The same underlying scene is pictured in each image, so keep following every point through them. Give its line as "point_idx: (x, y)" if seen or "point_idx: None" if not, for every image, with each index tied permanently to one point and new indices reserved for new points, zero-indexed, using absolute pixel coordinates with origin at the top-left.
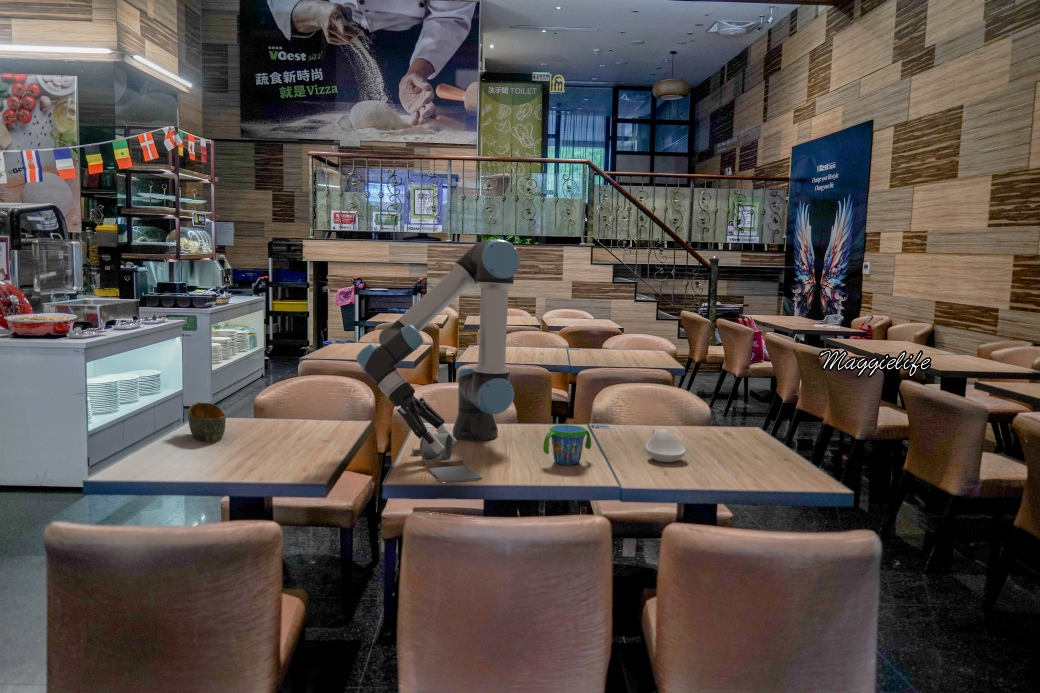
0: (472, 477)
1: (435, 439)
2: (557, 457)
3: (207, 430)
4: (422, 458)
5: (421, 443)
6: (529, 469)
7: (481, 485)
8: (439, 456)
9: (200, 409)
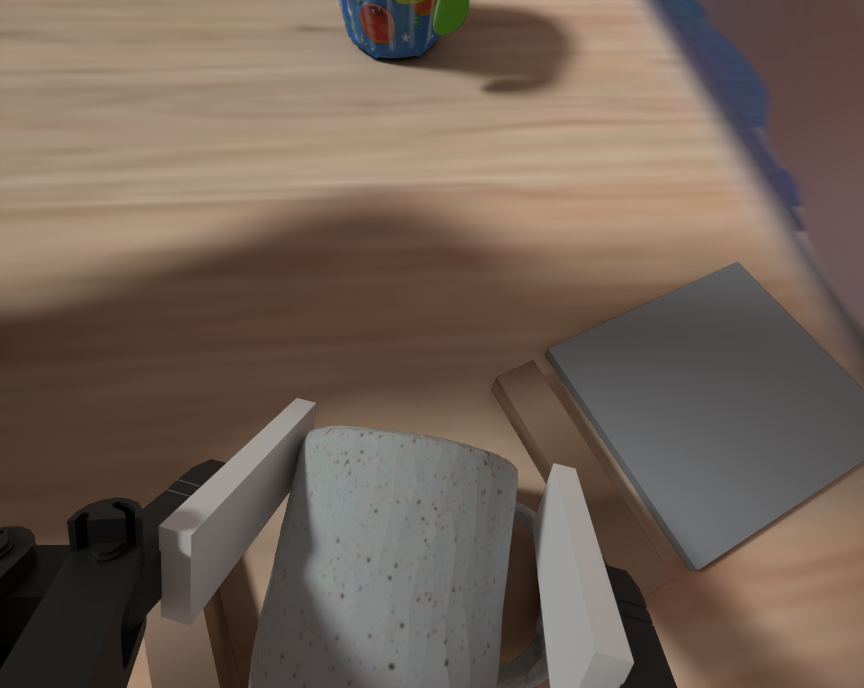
0: (761, 298)
1: (596, 547)
2: (429, 28)
3: None
4: None
5: None
6: (514, 126)
7: (814, 263)
8: None
9: None
